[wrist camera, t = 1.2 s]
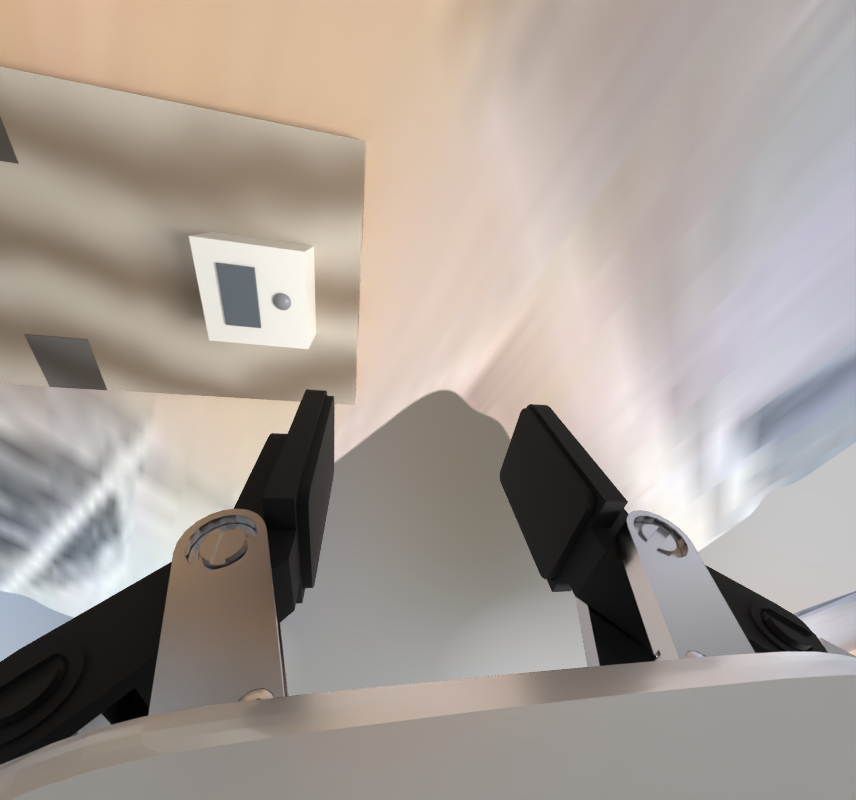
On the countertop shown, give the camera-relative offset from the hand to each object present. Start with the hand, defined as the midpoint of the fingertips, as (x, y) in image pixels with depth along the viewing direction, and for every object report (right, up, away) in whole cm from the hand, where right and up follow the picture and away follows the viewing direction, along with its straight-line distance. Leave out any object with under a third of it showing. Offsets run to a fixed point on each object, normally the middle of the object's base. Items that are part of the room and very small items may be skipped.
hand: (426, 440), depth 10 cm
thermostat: (-11, +9, +12) cm, 19 cm away
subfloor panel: (-18, +10, +12) cm, 24 cm away
